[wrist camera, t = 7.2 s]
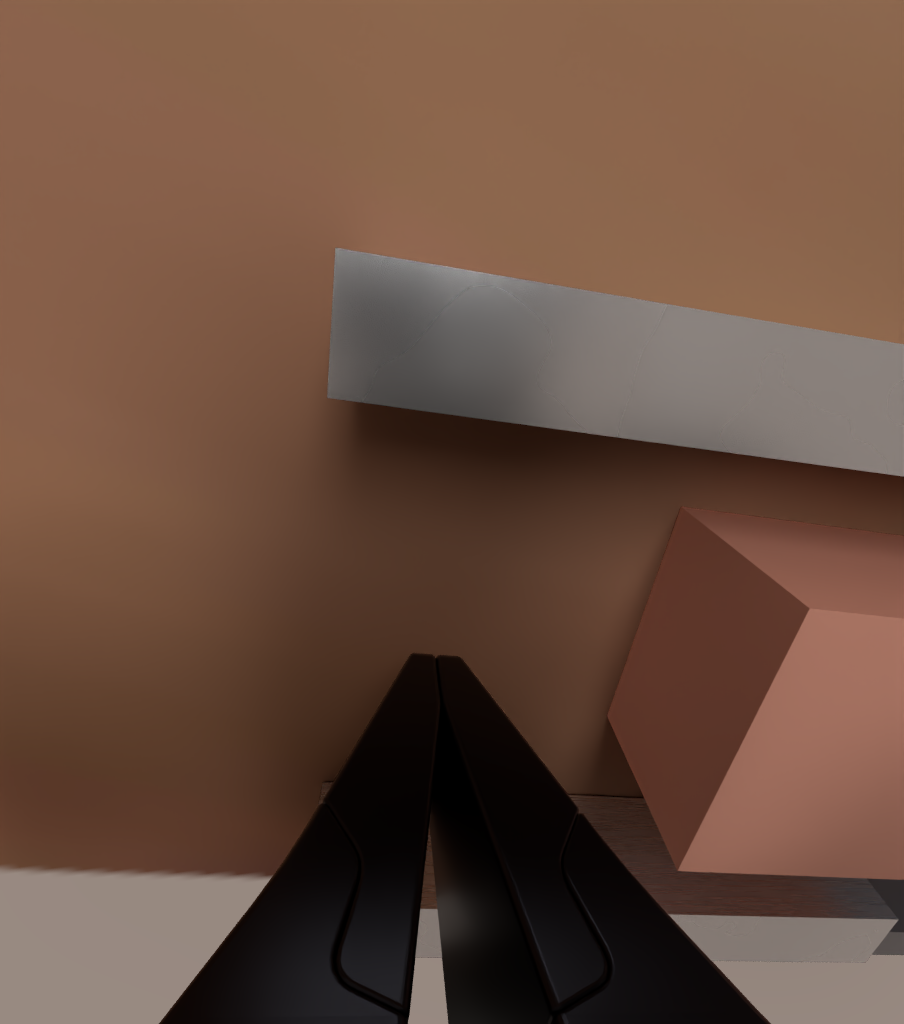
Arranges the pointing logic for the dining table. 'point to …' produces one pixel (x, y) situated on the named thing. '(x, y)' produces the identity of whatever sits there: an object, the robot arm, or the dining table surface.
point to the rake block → (771, 698)
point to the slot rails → (646, 417)
